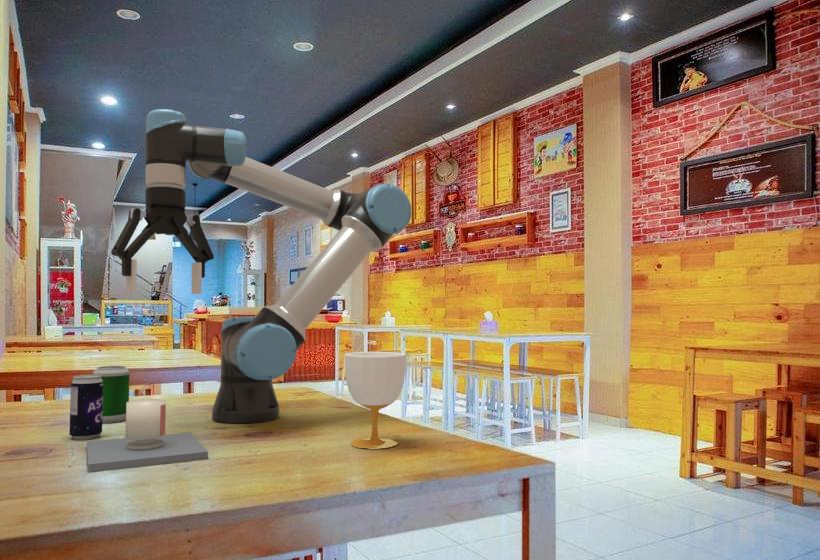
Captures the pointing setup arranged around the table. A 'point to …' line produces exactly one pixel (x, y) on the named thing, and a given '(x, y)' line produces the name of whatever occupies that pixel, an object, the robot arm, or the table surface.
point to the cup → (374, 384)
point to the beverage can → (86, 407)
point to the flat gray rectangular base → (143, 451)
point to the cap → (145, 419)
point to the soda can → (114, 392)
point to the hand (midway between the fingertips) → (165, 294)
